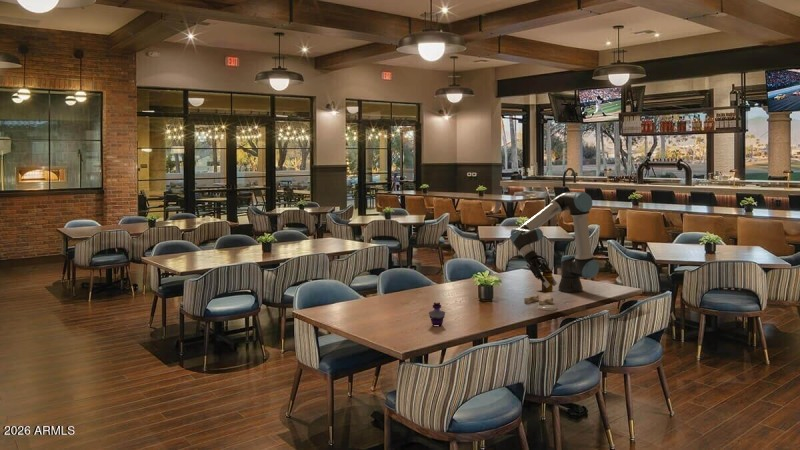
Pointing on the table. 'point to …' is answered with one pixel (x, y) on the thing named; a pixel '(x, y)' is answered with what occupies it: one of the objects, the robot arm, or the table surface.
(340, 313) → the table surface
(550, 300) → the rail holder
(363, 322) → the table surface
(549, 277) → the condiment
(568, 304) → the table surface
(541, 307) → the plate
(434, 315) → the potion bottle
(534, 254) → the robot arm
